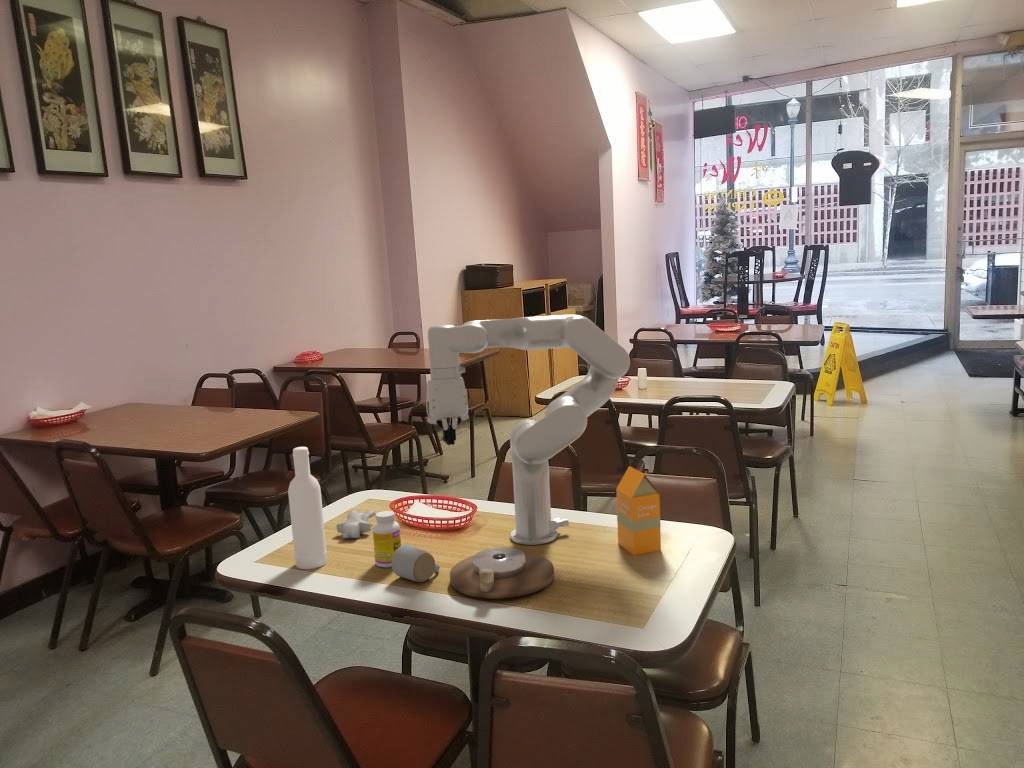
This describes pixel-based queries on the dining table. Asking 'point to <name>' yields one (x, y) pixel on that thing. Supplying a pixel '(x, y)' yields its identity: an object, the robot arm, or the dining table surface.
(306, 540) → the bottle
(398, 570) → the ceramic mug
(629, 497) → the orange juice
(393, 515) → the supplement bottle
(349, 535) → the bunny figurine
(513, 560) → the steel cover
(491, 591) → the lazy susan
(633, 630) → the dining table surface
